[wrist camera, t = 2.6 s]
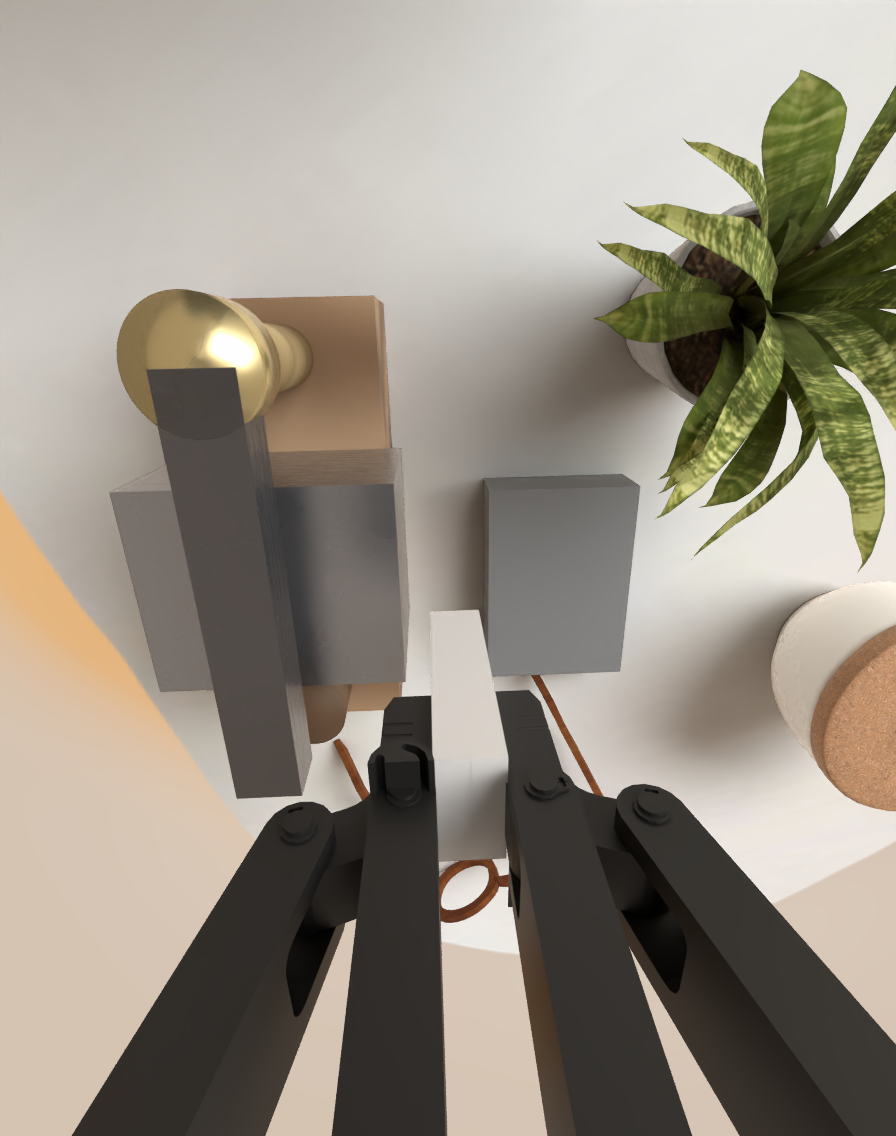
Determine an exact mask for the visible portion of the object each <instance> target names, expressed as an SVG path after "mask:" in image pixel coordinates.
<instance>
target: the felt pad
mask: <svg viewBox="0 0 896 1136" xmlns="http://www.w3.org/2000/svg"><path fill="white" fill-rule="evenodd" d="M639 492H640V486H639V485H638V484H636V483H635V482H633V481H632V480H630V479H629V478H627V477H626V476H624V475H623V474H612V475H579V476H546V477H513V478H484V638H485V643H486V648H487V653H488V658H489V663H490V668H491V673H492V677H494V676H519V675H544V674H569V673H593V672H618V671H620V666H621V657H622V648H623V639H624V630H625V621H626V611H627V602H628V593H629V584H630V575H631V566H632V556H633V547H634V538H635V529H636V520H637V511H638V501H639Z"/></svg>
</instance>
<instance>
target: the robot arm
mask: <svg viewBox="0 0 896 1136" xmlns="http://www.w3.org/2000/svg"><path fill="white" fill-rule="evenodd" d="M430 651H431V696H411V697H393V699H392V700H391V702H390V703H389V704H388V706H387V707H386V708H385V710H384V718H383V727H382V738H381V745H380V747H379V748H378V749H376V750H375V751H374V752H373V753H372V754H371V756H370V759H369V761H368V763H367V764H368V774H369V784H370V794H369V795H368V796H367V797H366V798H365V799H364V800H363V801H361V802H359V803H358V804H356V805H354V806H352V807H349V808H347V809H344V810H341V811H338V812H334V813H331V812H330V811H329V810H328V809H327V808H326V807H325V806H324V805H321V804H318V803H315V802H299V803H295V804H292V805H289V806H286V807H285V808H283V809H281V810H280V811H278V812H277V813H275V814H274V815H273V816H272V818H271V819H270V820H269V821H268V822H267V823H266V825H265V826H264V828H263V830H262V831H261V833H260V834H259V836H258V838H257V839H256V841H255V842H254V844H253V846H252V847H251V849H250V851H249V852H248V854H247V855H246V857H245V859H244V860H243V862H242V863H241V865H240V867H239V868H238V870H237V871H236V873H235V875H234V876H233V878H232V879H231V881H230V883H229V884H228V886H227V887H226V889H225V891H224V892H223V894H222V895H221V897H220V899H219V900H218V902H217V904H216V905H215V907H214V908H213V910H212V911H211V913H210V915H209V916H208V918H207V919H206V921H205V923H204V924H203V926H202V927H201V929H200V931H199V932H198V934H197V936H196V937H195V939H194V940H193V942H192V944H191V945H190V947H189V948H188V950H187V952H186V953H185V955H184V956H183V958H182V960H181V961H180V963H179V964H178V966H177V968H176V969H175V971H174V972H173V974H172V976H171V977H170V979H169V980H168V982H167V984H166V985H165V987H164V989H163V990H162V992H161V993H160V995H159V996H158V998H157V1000H156V1001H155V1003H154V1004H153V1006H152V1008H151V1009H150V1011H149V1012H148V1014H147V1016H146V1017H145V1019H144V1021H143V1022H142V1024H141V1026H140V1027H139V1029H138V1030H137V1032H136V1034H135V1035H134V1037H133V1038H132V1040H131V1042H130V1043H129V1045H128V1046H127V1048H126V1049H125V1051H124V1053H123V1054H122V1056H121V1057H120V1059H119V1061H118V1062H117V1064H116V1065H115V1067H114V1069H113V1070H112V1072H111V1074H110V1075H109V1077H108V1078H107V1080H106V1082H105V1083H104V1085H103V1086H102V1088H101V1089H100V1091H99V1093H98V1094H97V1096H96V1097H95V1099H94V1101H93V1102H92V1104H91V1106H90V1107H89V1109H88V1110H87V1112H86V1114H85V1115H84V1117H83V1118H82V1120H81V1122H80V1123H79V1125H78V1126H77V1128H76V1130H75V1132H74V1133H73V1134H72V1136H265V1135H266V1132H267V1130H268V1127H269V1124H270V1122H271V1119H272V1116H273V1114H274V1111H275V1109H276V1106H277V1103H278V1101H279V1098H280V1096H281V1093H282V1090H283V1088H284V1085H285V1082H286V1080H287V1077H288V1074H289V1072H290V1069H291V1067H292V1064H293V1061H294V1059H295V1056H296V1054H297V1051H298V1048H299V1046H300V1043H301V1041H302V1038H303V1035H304V1033H305V1030H306V1027H307V1025H308V1022H309V1019H310V1017H311V1014H312V1012H313V1009H314V1006H315V1004H316V1001H317V998H318V996H319V993H320V991H321V988H322V985H323V982H324V980H325V978H326V975H327V972H328V969H329V967H330V964H331V962H332V959H333V957H334V954H335V951H336V949H337V946H338V944H339V941H340V938H341V935H342V933H343V930H344V926H345V923H346V922H349V921H351V920H354V919H356V929H355V937H354V945H353V954H352V963H351V972H350V981H349V989H348V998H347V1007H346V1016H345V1024H344V1033H343V1042H342V1050H341V1059H340V1069H339V1076H338V1085H337V1094H336V1104H335V1112H334V1121H333V1129H332V1136H447V1115H446V1114H447V1113H446V1081H445V1048H444V1015H443V984H442V953H441V952H442V951H441V917H440V885H439V862H441V861H461V860H481V859H501V858H506V846H507V852H508V859H509V890H508V907H513V913H514V919H515V926H516V932H517V939H518V945H519V952H520V958H521V965H522V972H523V978H524V985H525V991H526V998H527V1004H528V1011H529V1018H530V1024H531V1031H532V1037H533V1044H534V1050H535V1056H536V1063H537V1070H538V1077H539V1082H540V1090H541V1096H542V1103H543V1109H544V1116H545V1122H546V1129H547V1135H548V1136H692V1134H691V1131H690V1128H689V1125H688V1122H687V1119H686V1116H685V1113H684V1110H683V1107H682V1104H681V1101H680V1098H679V1095H678V1092H677V1089H676V1086H675V1083H674V1080H673V1077H672V1074H671V1071H670V1068H669V1065H668V1062H667V1059H666V1056H665V1053H664V1050H663V1047H662V1044H661V1041H660V1038H659V1035H658V1032H657V1029H656V1026H655V1023H654V1020H653V1017H652V1014H651V1011H650V1009H649V1005H648V1002H647V999H646V996H645V993H644V990H643V987H642V984H641V981H640V978H639V975H638V972H637V969H636V966H635V963H634V960H633V957H632V954H631V951H632V952H633V954H634V956H635V957H636V959H637V961H638V963H639V964H640V966H641V968H642V969H643V971H644V973H645V975H646V976H647V978H648V980H649V981H650V983H651V985H652V987H653V988H654V990H655V991H656V993H657V995H658V996H659V998H660V1000H661V1002H662V1004H663V1005H664V1007H665V1009H666V1010H667V1012H668V1013H669V1016H670V1017H671V1019H672V1021H673V1022H674V1024H675V1026H676V1027H677V1029H678V1031H679V1033H680V1034H681V1036H682V1038H683V1039H684V1041H685V1043H686V1045H687V1046H688V1048H689V1050H690V1052H691V1053H692V1055H693V1057H694V1058H695V1060H696V1062H697V1063H698V1065H699V1067H700V1068H701V1070H702V1072H703V1074H704V1075H705V1077H706V1079H707V1081H708V1082H709V1084H710V1086H711V1087H712V1089H713V1091H714V1093H715V1094H716V1096H717V1097H718V1099H719V1101H720V1103H721V1105H722V1106H723V1108H724V1110H725V1111H726V1113H727V1115H728V1117H729V1118H730V1120H731V1121H732V1123H733V1125H734V1127H735V1128H736V1130H737V1132H738V1134H739V1135H740V1136H896V1044H895V1043H894V1042H893V1041H892V1040H891V1039H890V1038H889V1036H888V1035H887V1034H886V1033H885V1032H884V1031H883V1030H882V1029H881V1027H880V1026H879V1025H878V1024H877V1023H876V1022H875V1020H874V1019H873V1018H872V1017H871V1016H870V1015H869V1014H868V1012H867V1011H866V1010H865V1009H864V1008H863V1007H862V1006H861V1005H860V1004H859V1002H858V1001H857V1000H856V999H855V998H854V997H853V996H852V994H851V993H850V992H849V991H848V990H847V989H846V988H845V987H844V985H843V984H842V983H841V982H840V981H839V980H838V979H837V977H836V976H835V975H834V974H833V973H832V972H831V971H830V969H829V968H828V967H827V966H826V965H825V964H824V963H823V962H822V960H821V959H820V958H819V957H818V956H817V955H816V954H815V952H814V951H813V950H812V949H811V948H810V947H809V946H808V945H807V944H806V942H805V941H804V940H803V939H802V938H801V937H800V936H799V934H798V933H797V932H796V931H795V930H794V929H793V928H792V926H791V925H790V924H789V923H788V922H787V921H786V920H785V918H784V917H783V916H782V915H781V914H780V913H779V912H778V911H777V910H776V908H775V907H774V906H773V905H772V904H771V903H770V902H769V900H768V899H767V898H766V897H765V896H764V895H763V894H762V892H761V891H760V890H759V889H758V888H757V887H756V886H755V885H754V883H753V882H752V881H751V880H750V879H749V878H748V877H747V875H746V874H745V873H744V872H743V871H742V870H741V869H740V868H739V866H738V865H737V864H736V863H735V862H734V861H733V860H732V858H731V857H730V856H729V855H728V854H727V853H726V852H725V851H724V849H723V848H722V847H721V846H720V845H719V844H718V843H717V841H716V840H715V839H714V838H713V837H712V836H711V835H710V834H709V832H708V831H707V830H706V829H705V828H704V827H703V826H702V825H701V823H700V822H699V821H698V820H697V819H696V818H695V817H694V815H693V814H692V813H691V812H690V811H689V810H688V809H687V808H686V806H685V805H684V804H683V803H682V802H681V801H680V800H679V799H678V798H676V797H675V796H674V795H673V794H672V793H670V792H668V791H666V790H664V789H662V788H660V787H657V786H652V785H647V784H639V785H631V786H629V787H627V788H625V789H623V790H622V791H621V793H620V794H619V795H618V797H617V799H614V798H609V797H604V796H599V795H595V794H592V793H588V792H586V791H584V790H582V789H580V788H578V787H577V786H575V785H574V783H573V781H572V780H571V778H570V777H569V776H568V775H567V774H565V773H564V772H563V770H562V768H561V765H560V762H559V758H558V755H557V752H556V749H555V746H554V743H553V740H552V737H551V733H550V730H549V729H548V724H547V721H546V718H545V715H544V712H543V708H542V705H541V702H540V701H539V700H538V699H537V698H536V697H535V696H534V695H533V694H532V693H531V692H530V691H529V690H521V691H497V692H495V688H494V683H493V678H492V673H491V668H490V663H489V658H488V653H487V648H486V643H485V638H484V634H483V629H482V624H481V619H480V614H479V610H456V611H430ZM629 947H630V948H629ZM630 949H631V951H630Z"/></svg>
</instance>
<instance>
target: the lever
mask: <svg viewBox="0 0 896 1136" xmlns="http://www.w3.org/2000/svg"><path fill="white" fill-rule="evenodd" d="M117 362H118V368H119V372H120V376H121V379H122V382H123V384H124V387H125V389H126V391H127V393H128V394H129V396H130V398H131V399H132V401H133V402H134V404H135V405H136V406H137V408H138V409H139V410H140V411H141V412H142V413H143V414H144V415H145V416H146V417H147V418H148V419H149V420H150V421H152V422H153V423H154V424H156V425H157V426H158V429H159V434H160V438H161V443H162V448H163V452H164V457H165V462H166V467H167V471H168V476H169V481H170V485H171V490H172V495H173V500H174V504H175V509H176V514H177V518H178V523H179V528H180V533H181V537H182V542H183V547H184V551H185V556H186V561H187V566H188V570H189V575H190V580H191V584H192V589H193V594H194V599H195V603H196V608H197V613H198V618H199V622H200V627H201V632H202V636H203V641H204V646H205V651H206V655H207V660H208V665H209V669H210V674H211V679H212V684H213V688H214V693H215V698H216V702H217V707H218V712H219V717H220V721H221V726H222V731H223V735H224V740H225V745H226V750H227V754H228V759H229V764H230V768H231V773H232V778H233V783H234V787H235V792H236V797H237V799H240V798H261V797H283V796H302V794H303V791H304V787H305V783H306V779H307V776H308V772H309V768H310V764H311V761H312V752H311V745H310V738H309V731H308V724H307V717H306V710H305V703H304V696H303V689H302V681H301V674H300V667H299V660H298V653H297V646H296V639H295V632H294V625H293V618H292V611H291V604H290V597H289V590H288V582H287V575H286V568H285V561H284V554H283V547H282V540H281V533H280V526H279V519H278V512H277V505H276V498H275V491H274V483H273V476H272V469H271V462H270V455H269V448H268V441H267V434H266V427H265V420H264V414H265V413H266V412H267V411H268V410H269V408H270V407H271V405H272V404H273V402H274V400H275V398H276V396H277V393H278V390H279V386H280V381H281V364H280V358H279V354H278V351H277V347H276V345H275V343H274V340H273V338H272V336H271V335H270V333H269V331H268V330H267V328H266V327H265V326H264V324H263V323H262V322H261V321H260V320H259V319H258V318H257V317H256V316H255V315H254V314H253V313H252V312H251V311H249V310H248V309H247V308H245V307H244V306H242V305H241V304H239V303H237V302H234V301H232V300H230V299H227V298H224V297H220V296H215V295H210V294H205V293H201V292H196V291H191V290H183V289H173V290H165V291H161V292H157V293H155V294H153V295H150V296H148V297H147V298H145V299H143V300H142V301H140V302H139V303H138V304H137V305H136V306H135V307H134V308H133V309H132V310H131V311H130V313H129V314H128V315H127V317H126V319H125V320H124V322H123V325H122V327H121V330H120V333H119V337H118V342H117Z"/></svg>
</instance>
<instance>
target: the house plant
mask: <svg viewBox="0 0 896 1136" xmlns="http://www.w3.org/2000/svg"><path fill="white" fill-rule="evenodd" d="M846 113H847V107H846V104H845V102H844V100H843V97H842V95H841V93H840V92H839V91H838V90H836V89H835V88H834V87H833V86H832V85H830V84H829V83H828V82H827V81H825V80H823V79H821V78H819V77H817V76H815V75H813V74H811V73H808V72H806V71H803V70H800V73H799V77H798V78H797V79H796V80H795V81H794V83H793V84H792V85H791V86H790V87H789V88H788V89H787V90H786V91H785V93H784V94H783V95H782V96H781V97H780V98H779V99H778V100H777V101H776V103H775V104H774V105H773V106H772V107H771V110H770V113H769V116H768V118H767V121H766V124H765V126H764V132H763V139H762V165H763V172H764V179H765V181H764V179H763V177H762V175H761V173H760V171H759V169H758V167H757V166H756V165H755V164H753V163H751V162H750V161H748V160H746V159H745V158H742V157H740V156H737V155H734V154H732V153H730V152H728V151H726V150H724V149H722V148H720V147H717V146H715V145H712V144H710V143H698V142H687V141H686V140H685V139H684V141H685V142H686V143H687V144H688V145H689V146H691V147H692V148H693V149H695V150H696V151H698V152H699V153H701V154H702V155H704V156H705V157H706V158H708V159H709V160H710V161H712V162H713V163H714V164H716V165H717V166H718V167H720V168H721V169H723V170H724V171H726V172H727V173H728V174H729V175H730V176H732V177H733V178H734V179H735V180H736V181H737V182H738V183H739V184H740V185H741V186H742V187H743V188H744V190H745V191H746V192H747V193H748V194H749V195H750V196H751V198H752V199H753V201H751V202H748V203H745V204H741V205H738V206H735V207H732V208H730V209H729V210H727V211H726V212H724V213H722V214H721V215H719V214H706V213H703V212H699V211H696V210H692V209H688V208H685V207H680V206H675V205H670V204H660V205H652V206H644V207H632V206H630V205H628V204H626V203H625V202H624V203H625V204H626V205H627V206H629V207H630V208H631V209H632V210H633V211H635V212H636V213H638V214H639V215H641V216H643V217H645V218H647V219H649V220H651V221H653V222H655V223H658V224H660V225H662V226H664V227H666V228H667V229H669V230H671V231H673V232H675V233H676V234H678V235H680V236H682V237H684V238H686V239H688V240H686V241H685V242H684V243H683V244H682V245H681V246H679V247H678V248H677V249H676V250H675V251H674V252H672V253H671V254H670V255H669V256H667V255H666V254H665V253H661V252H655V251H648V250H640V249H638V248H635V247H633V246H630V245H626V244H622V243H613V244H601V243H600V242H599V244H600V245H601V246H602V247H603V248H604V249H605V250H607V251H608V252H610V253H612V254H613V255H615V256H616V257H618V258H619V259H620V260H622V261H623V262H624V263H626V264H628V265H629V266H631V267H633V268H634V269H636V270H637V271H639V272H640V273H641V274H643V275H644V276H645V278H644V279H643V280H642V281H641V282H640V283H639V285H638V286H637V288H636V290H635V291H634V293H633V295H632V296H631V299H630V301H629V302H627V303H626V304H624V305H622V306H621V307H619V308H617V309H615V310H614V311H612V312H610V313H608V314H606V315H605V316H602V317H597V318H593V319H596V320H599V321H603V322H605V323H606V324H607V325H609V326H610V327H611V328H613V329H614V330H615V331H616V332H618V333H619V334H620V335H622V336H623V337H624V338H626V344H627V346H628V349H629V351H630V353H631V356H632V358H633V359H634V360H635V361H636V363H637V364H638V365H639V366H640V367H641V368H642V369H643V370H645V371H646V372H647V373H649V374H650V375H651V376H653V377H654V378H656V379H657V380H658V381H660V382H661V383H663V384H664V385H665V386H667V387H668V388H669V389H671V390H672V391H674V392H675V393H676V394H678V395H679V396H681V397H682V398H683V399H685V400H687V401H688V402H690V403H691V404H693V405H694V406H693V408H692V410H691V411H690V413H689V415H688V416H687V418H686V420H685V421H684V424H683V426H682V429H681V432H680V434H679V437H678V440H677V444H676V449H675V453H674V456H673V458H672V461H671V463H670V466H669V468H668V470H667V472H666V473H665V474H664V475H663V476H662V477H661V478H660V479H662V478H665V477H668V476H670V478H669V480H668V482H667V484H666V486H665V488H664V489H663V491H662V492H664V491H666V490H668V489H670V488H671V487H672V486H674V485H675V484H677V483H678V484H677V485H676V486H675V488H674V490H673V492H672V494H671V496H670V498H669V500H668V502H667V505H666V507H665V508H664V510H663V512H662V514H661V515H660V516H658V517H657V518H659V517H661V516H663V515H665V514H667V513H669V512H670V511H672V510H673V509H674V508H676V507H677V506H678V505H679V504H681V503H682V502H683V501H684V500H686V499H687V498H688V497H690V496H691V495H692V494H694V493H695V492H696V491H698V490H699V489H700V488H702V487H703V486H704V485H705V484H706V483H707V482H708V481H709V480H710V479H711V478H712V477H713V476H714V475H715V474H716V473H717V472H718V471H719V470H720V469H721V468H722V467H723V466H724V465H725V464H726V463H727V462H728V461H729V459H730V458H731V457H732V456H733V455H734V454H735V453H736V452H737V450H738V449H739V448H740V446H741V445H742V443H743V442H744V441H745V439H746V438H747V437H748V438H747V439H746V441H745V442H744V444H743V445H742V447H741V448H740V449H739V451H738V452H737V454H736V455H735V456H734V458H733V459H732V461H731V462H730V463H729V465H728V466H727V468H726V469H725V470H724V472H723V473H722V475H721V477H720V479H719V480H718V482H717V484H716V487H715V489H714V492H713V495H712V497H711V498H710V500H709V501H708V503H707V504H706V505H705V506H702V507H708V506H714V505H719V504H724V503H729V502H735V501H737V500H739V499H741V498H742V497H744V496H746V495H748V494H749V493H751V492H752V491H753V490H754V489H755V488H756V487H757V486H758V485H760V484H761V482H762V481H763V479H764V478H765V476H766V475H767V473H768V472H769V469H770V467H771V465H772V462H773V460H774V458H775V455H776V452H777V450H778V447H779V444H780V441H781V438H782V434H783V431H784V428H785V425H786V412H787V400H788V399H791V401H792V403H793V406H794V408H795V410H796V412H797V415H798V419H799V422H800V425H801V428H802V436H801V441H800V446H799V452H798V454H797V456H796V458H795V459H794V461H793V462H792V463H791V464H790V465H789V466H788V467H787V468H786V469H785V470H784V471H783V472H782V473H781V474H780V475H779V476H778V477H777V478H776V479H775V480H774V481H773V482H772V483H771V484H770V485H768V486H767V487H766V488H765V489H764V490H763V491H762V492H760V493H759V494H758V495H757V496H756V497H755V498H754V499H752V500H751V501H750V502H749V503H748V504H747V505H746V506H744V507H743V508H742V509H741V510H740V511H739V512H737V513H736V514H735V515H734V516H733V517H732V518H731V519H730V520H729V521H727V522H726V523H725V524H724V525H723V526H722V527H721V528H720V529H719V530H718V531H717V532H716V533H715V534H714V535H713V536H712V537H711V538H710V539H709V540H708V541H707V542H706V543H705V544H704V545H703V546H702V547H701V548H700V549H699V551H698V552H697V553H696V554H698V553H699V552H700V551H701V550H703V549H704V548H705V547H707V546H708V545H709V544H711V543H712V542H713V541H715V540H716V539H717V538H718V537H720V536H721V535H722V534H724V533H725V532H726V531H727V530H729V529H730V528H731V527H732V526H734V525H735V524H737V523H738V522H740V521H741V520H743V519H745V518H746V517H748V516H749V515H751V514H753V513H754V512H756V511H757V510H758V509H760V508H761V507H762V506H763V505H765V504H766V503H767V502H768V501H769V500H771V499H772V498H773V497H774V496H775V495H776V494H777V493H778V492H779V491H780V490H781V489H782V488H783V487H784V486H785V485H786V484H787V483H789V482H790V481H791V480H792V479H793V477H794V476H795V475H796V473H797V472H798V471H799V469H800V468H801V467H802V465H803V464H804V463H805V461H806V460H807V459H808V458H809V455H810V453H811V451H812V449H813V447H814V445H815V443H816V441H817V439H818V437H819V440H820V444H821V448H822V453H823V457H824V459H825V460H826V462H827V463H828V465H829V466H830V468H831V469H832V470H833V472H834V473H835V475H836V476H837V478H838V479H839V481H840V482H841V484H842V486H843V487H844V489H845V491H846V492H847V494H848V496H849V501H850V507H851V514H852V522H853V531H854V536H855V539H856V541H857V544H858V547H859V550H860V553H861V557H862V562H863V563H862V565H861V567H860V569H861V568H862V567H863V565H864V564H865V563H866V562H867V560H868V558H869V557H870V555H871V554H872V551H873V548H874V546H875V543H876V540H877V537H878V534H879V531H880V528H881V524H882V521H883V517H884V513H885V476H884V472H883V467H882V463H881V459H880V455H879V451H878V448H877V444H876V440H875V436H874V432H873V428H872V424H871V419H870V415H869V413H868V410H867V408H866V406H865V404H864V402H863V399H862V397H861V395H860V393H859V392H857V391H856V390H855V389H854V388H853V387H852V386H851V385H850V384H849V383H848V382H847V381H846V380H845V379H844V378H843V377H842V376H841V375H840V374H839V373H838V371H837V370H836V368H835V367H834V365H837V366H840V367H843V368H845V369H847V370H849V371H851V372H853V373H854V374H855V375H856V376H857V377H858V379H859V380H860V381H861V382H862V383H863V385H864V386H865V387H866V388H867V389H868V390H869V391H870V393H871V394H872V395H873V396H874V397H875V398H876V399H877V401H878V402H879V404H880V406H881V407H882V409H883V410H884V412H885V414H886V415H887V417H888V419H889V420H890V422H891V424H892V425H893V427H894V429H895V430H896V314H894V313H891V312H887V311H883V310H880V309H896V269H891V270H887V271H883V270H886V269H888V268H890V267H892V266H894V265H896V191H895V192H894V193H892V194H891V195H890V196H888V197H887V198H886V199H885V200H883V201H882V202H881V203H880V204H878V205H877V206H876V207H875V208H874V209H872V210H871V211H870V212H869V213H868V214H866V215H865V216H864V217H863V218H861V219H860V220H859V221H858V222H857V223H855V224H854V225H853V226H852V227H851V228H849V229H848V230H847V231H846V232H845V233H843V234H842V235H841V236H840V235H839V233H838V232H837V230H836V229H835V227H834V226H833V225H834V223H835V222H836V221H837V220H838V218H839V217H840V215H841V214H842V213H843V211H844V210H845V208H846V207H847V206H848V204H849V203H850V201H851V200H852V198H853V197H854V196H855V194H856V193H857V191H858V189H859V188H860V186H861V184H862V183H863V181H864V179H865V178H866V176H867V174H868V173H869V171H870V169H871V168H872V166H873V165H874V163H875V162H876V160H877V159H878V157H879V156H880V154H881V153H882V151H883V150H884V148H885V147H886V145H887V144H888V142H889V141H890V139H891V138H892V136H893V135H894V133H895V132H896V86H895V88H894V89H893V91H892V93H891V95H890V96H889V98H888V100H887V102H886V104H885V105H884V107H883V108H882V110H881V112H880V113H879V115H878V117H877V118H876V120H875V122H874V123H873V125H872V127H871V128H870V130H869V132H868V133H867V135H866V136H865V138H864V140H863V141H862V143H861V145H860V147H859V149H858V151H857V153H856V155H855V157H854V159H853V161H852V163H851V165H850V167H849V169H848V171H847V173H846V176H845V178H844V179H843V181H842V183H841V184H840V186H839V188H838V189H837V191H836V193H835V194H834V196H833V198H832V199H831V201H830V203H829V204H828V206H827V203H828V199H829V196H830V192H831V188H832V183H833V178H834V173H835V165H836V154H837V152H838V148H839V145H840V142H841V138H842V135H843V132H844V128H845V120H846ZM826 207H827V208H826ZM881 271H882V272H881ZM833 364H834V365H833ZM748 435H749V436H748ZM658 480H659V479H658ZM660 493H661V492H660ZM658 494H659V493H658ZM699 508H700V507H699ZM655 519H656V518H655ZM696 554H695V555H696ZM695 555H694V556H695ZM691 560H692V559H691ZM860 569H859V570H860ZM858 572H859V571H858Z"/></svg>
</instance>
